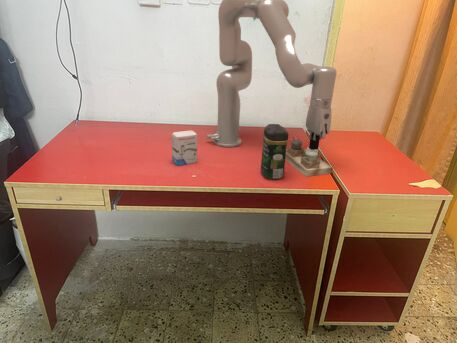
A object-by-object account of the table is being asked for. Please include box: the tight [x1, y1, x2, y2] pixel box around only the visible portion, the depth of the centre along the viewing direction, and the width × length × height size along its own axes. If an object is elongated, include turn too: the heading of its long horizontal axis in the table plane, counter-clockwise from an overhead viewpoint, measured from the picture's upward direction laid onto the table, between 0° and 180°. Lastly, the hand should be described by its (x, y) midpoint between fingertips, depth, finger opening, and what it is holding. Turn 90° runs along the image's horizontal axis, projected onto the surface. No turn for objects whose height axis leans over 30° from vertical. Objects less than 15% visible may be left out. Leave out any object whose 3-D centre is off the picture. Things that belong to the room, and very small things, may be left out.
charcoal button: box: [290, 139, 304, 151], centre depth 136 cm, size 4×4×4 cm
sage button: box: [305, 150, 319, 162], centre depth 127 cm, size 4×4×4 cm
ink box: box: [171, 130, 198, 166], centre depth 130 cm, size 9×5×12 cm, turn 117°
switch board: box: [285, 145, 333, 178], centre depth 134 cm, size 11×18×5 cm, turn 19°
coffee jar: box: [260, 123, 289, 180], centre depth 122 cm, size 10×8×19 cm
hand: (313, 148), depth 132 cm, fingers closed
